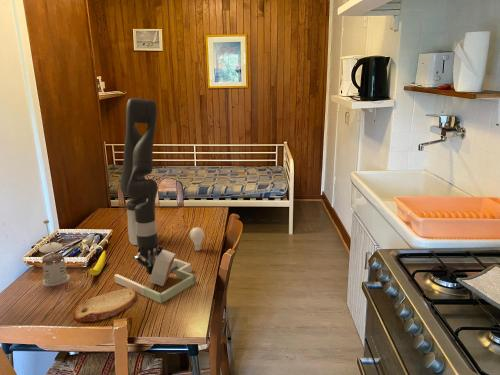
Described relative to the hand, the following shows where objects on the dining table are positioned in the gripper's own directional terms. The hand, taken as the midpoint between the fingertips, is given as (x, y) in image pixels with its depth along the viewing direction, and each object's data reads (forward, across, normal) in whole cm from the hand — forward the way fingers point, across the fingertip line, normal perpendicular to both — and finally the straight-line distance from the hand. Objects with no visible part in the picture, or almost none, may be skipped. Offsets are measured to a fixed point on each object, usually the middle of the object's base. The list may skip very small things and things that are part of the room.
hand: (150, 273), depth 147 cm
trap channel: (+3, -3, +2) cm, 5 cm away
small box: (+2, -2, +3) cm, 4 cm away
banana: (+4, +7, -24) cm, 25 cm away
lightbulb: (+4, -30, -4) cm, 31 cm away
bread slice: (+4, +20, +1) cm, 21 cm away
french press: (+4, +20, -33) cm, 39 cm away
